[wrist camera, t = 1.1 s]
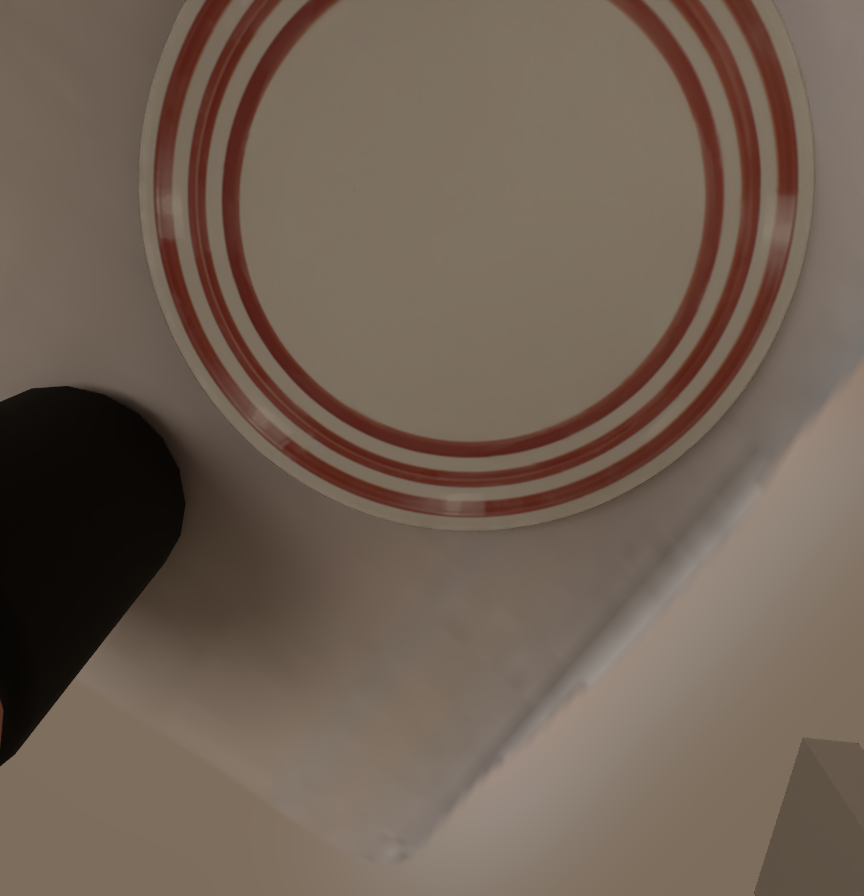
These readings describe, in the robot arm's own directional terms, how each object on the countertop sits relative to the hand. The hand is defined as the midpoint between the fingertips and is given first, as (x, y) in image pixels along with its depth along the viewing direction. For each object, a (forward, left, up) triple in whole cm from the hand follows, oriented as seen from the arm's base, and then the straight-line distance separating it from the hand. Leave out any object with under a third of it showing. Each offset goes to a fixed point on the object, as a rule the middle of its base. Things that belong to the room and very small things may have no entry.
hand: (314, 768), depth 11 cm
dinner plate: (-3, +7, -27) cm, 28 cm away
